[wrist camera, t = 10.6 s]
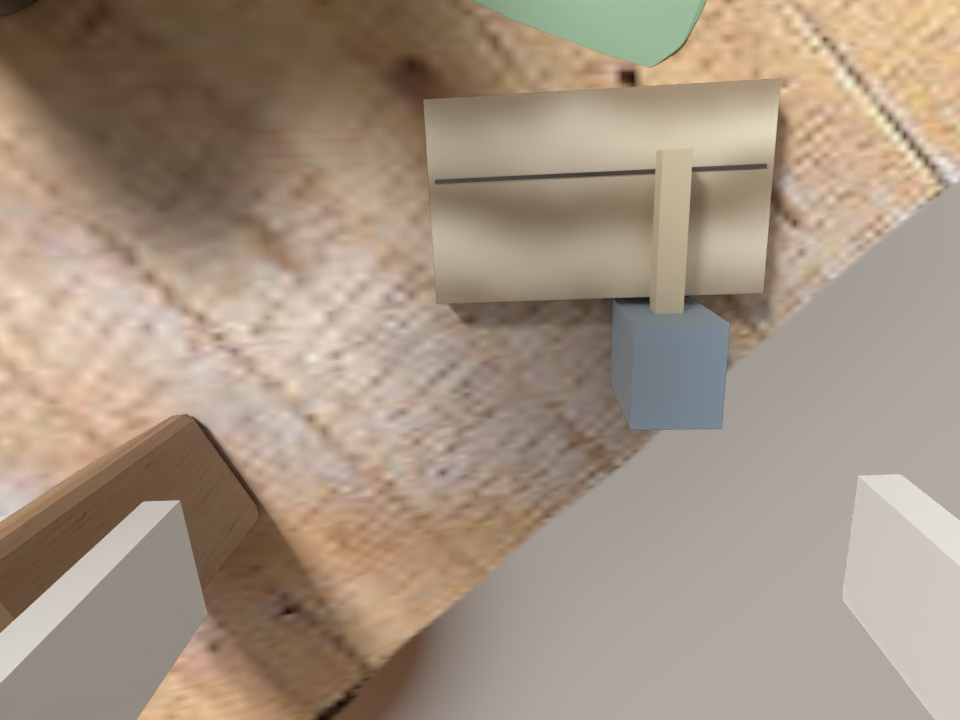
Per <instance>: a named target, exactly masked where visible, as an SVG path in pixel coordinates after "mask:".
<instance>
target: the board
mask: <svg viewBox="0 0 960 720" xmlns="http://www.w3.org/2000/svg"><path fill="white" fill-rule="evenodd" d="M780 82H781V78H778V79H761V80H744V81H727V82H710V83H693V84H676V85H659V86H642V87H625V88H608V89H591V90H574V91H557V92H540V93H523V94H506V95H489V96H472V97H455V98H438V99H423V104H424V119H425V134H426V149H427V164H428V179H429V194H430V210H431V225H432V240H433V255H434V270H435V285H436V300H437V304H451V303H481V302H511V301H541V300H570V299H600V298H630V297H650V287H651V264H652V241H653V217H654V194H655V170H656V151H659V150H665V149H691V148H693V158H692V175H691V192H690V209H689V226H688V244H687V261H686V278H685V295H684V296H689V295H719V294H749V293H763V290H764V277H765V265H766V253H767V241H768V228H769V216H770V204H771V192H772V179H773V167H774V155H775V143H776V130H777V118H778V106H779V94H780Z"/></svg>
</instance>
